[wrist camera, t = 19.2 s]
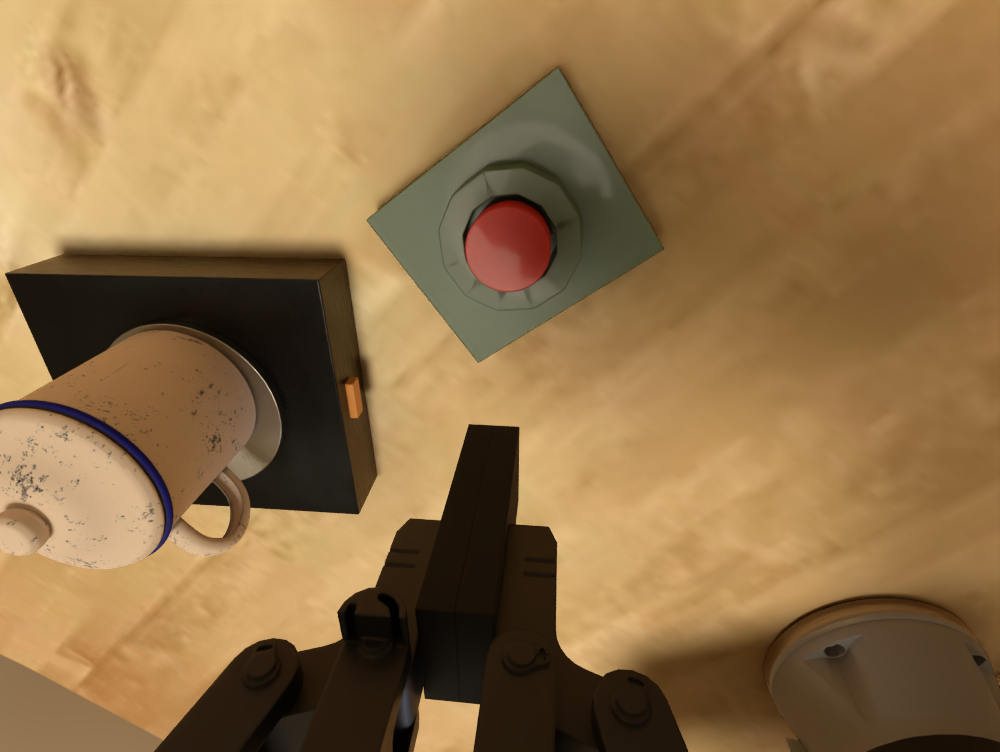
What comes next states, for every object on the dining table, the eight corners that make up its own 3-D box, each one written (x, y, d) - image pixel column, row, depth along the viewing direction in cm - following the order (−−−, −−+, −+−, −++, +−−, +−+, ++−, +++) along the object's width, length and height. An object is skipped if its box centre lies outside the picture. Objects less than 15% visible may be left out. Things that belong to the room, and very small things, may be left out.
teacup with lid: (81, 379, 32) (-148, 515, 21) (167, 291, 29) (-53, 403, 18) (238, 510, 36) (107, 679, 25) (329, 445, 32) (222, 610, 22)
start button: (520, 182, 25) (518, 188, 24) (566, 252, 26) (567, 262, 25) (454, 231, 27) (447, 239, 25) (500, 295, 28) (497, 307, 26)
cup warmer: (353, 259, 32) (323, 283, 27) (383, 477, 39) (363, 521, 35) (62, 254, 33) (-7, 276, 29) (144, 464, 41) (99, 505, 37)
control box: (558, 68, 26) (558, 64, 22) (658, 239, 29) (671, 260, 26) (377, 212, 30) (352, 228, 27) (482, 348, 33) (473, 379, 30)
